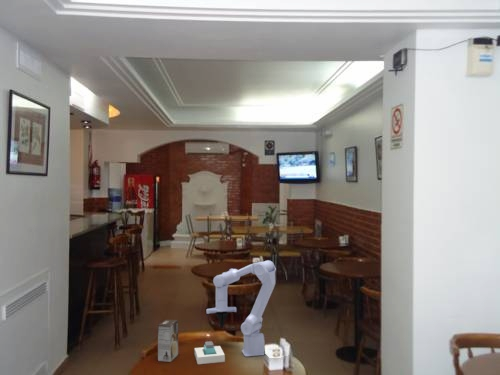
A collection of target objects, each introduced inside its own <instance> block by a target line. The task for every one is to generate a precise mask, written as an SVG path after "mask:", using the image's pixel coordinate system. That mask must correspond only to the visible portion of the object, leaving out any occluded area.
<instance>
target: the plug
mask: <svg viewBox="0 0 500 375" xmlns="http://www.w3.org/2000/svg"><path fill="white" fill-rule="evenodd" d="M214 346H215V344H214V343H213V341H212V340H209V341H205V342H204V345H203V347H204V355H209V354H215V348H214Z"/></svg>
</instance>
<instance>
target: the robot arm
mask: <svg viewBox="0 0 500 375" xmlns="http://www.w3.org/2000/svg"><path fill="white" fill-rule="evenodd" d="M276 271H277V268H276V265H275V264H274V262H273V261H271V260H269V259H267V260H265V261H259V262H255V263H251V264H248V265H246V266H244V267H242V268H240V269H237V268H230V269H229V270H228V271H224V272H222V273H221V274H217V275H216V276H214V277H213V280H212V282H213V285H214V287H215V307H212V308H207V309H206V311H205V312H206V315H207V314H208V315H209V314H216V318H217V319H218V320H217V321H218V323H219V328H220V329H223V328H224V325H225V321H226V320H227V317H228V313H232V312H234V313H237V307H236V306H228V288H229V285H230V284H233V283H236V282H238V281H240V278H241V277H243V276H246V275H248V274H252V275H254V274H255V276H256V277H257V278H258V280H259V281H260V282H261V284H262V285H261V287H260V289H259V292H258V295H257V297H256V299H255V302H254V304H253V307H252V309H251V311H250V314H249V315H248V316H247V317H246V318H245V320H244V322H242V323H241V325H240V331H241V333H242V335H243V349H241V350H240V351H241V352H242V354H243V356H244V357H245V358H246V357H256V356H257V357H258V356H265V355H264V346H265V345H266V344H265V334H264V333H262V332H260V330H262V326H263V319H264V318H263V317H262V316H263V315H264V312H265V310H266V307H267V305H268V302H269V300H270V297H271V295H272V293H273V291H274V288H275V285H276Z"/></svg>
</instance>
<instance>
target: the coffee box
mask: <svg viewBox="0 0 500 375" xmlns="http://www.w3.org/2000/svg"><path fill="white" fill-rule="evenodd" d="M178 355H179V320H178V319H164V320H163V321H162V322H160V323H159V324H158V325H157V360H158V362H170V363H171V362H172V361H173V360H174V359H175V358H176V357H177V356H178Z"/></svg>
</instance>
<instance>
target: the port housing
mask: <svg viewBox="0 0 500 375" xmlns="http://www.w3.org/2000/svg"><path fill="white" fill-rule="evenodd" d="M214 348H215V354H209V355H204V346H203V347H194V351H193V352H194V358H195V360H196V363H197V365H204V364H205V365H206V364H217V363H226V356H225V355H226V354H225V353H224V350H223V349H222V347H221V345H214Z"/></svg>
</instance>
